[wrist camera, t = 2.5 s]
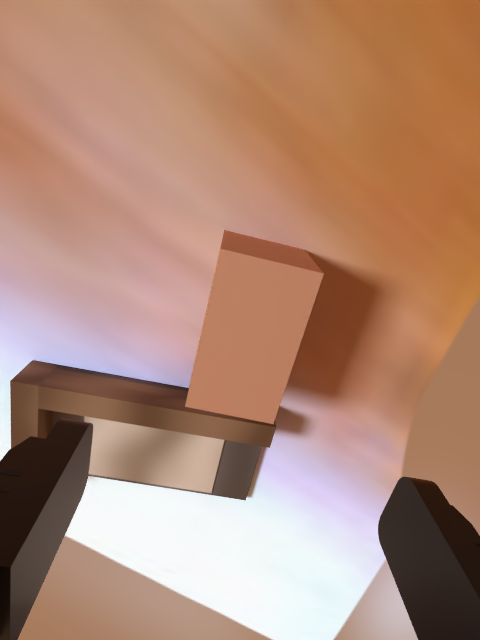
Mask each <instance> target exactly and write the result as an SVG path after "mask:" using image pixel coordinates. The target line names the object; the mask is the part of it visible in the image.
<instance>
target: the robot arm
mask: <svg viewBox="0 0 480 640" xmlns="http://www.w3.org/2000/svg"><path fill="white" fill-rule="evenodd" d="M92 437H93V424H92V423H88V422H82V421H76V420H70V419H64V418H61V419H59V420H58V421H57V423H56V424H55V425H54V427H53V428H52V430H51V431H50V433H49V434H48V436H47V437H46V439H44V438H38V437H32V436H30V437H29V438H27V439H26V440H24V441H23V442H21V443H20V444H18V445H16V446H15V447H13V448H12V449H10V450H9V451H8V452H7V454H6V455H5V456H4V457H3V459H2V460H1V461H0V640H17V639H18V637H19V635H20V633H21V630H22V628H23V626H24V624H25V621H26V619H27V617H28V615H29V613H30V610H31V608H32V606H33V604H34V601H35V600H36V597H37V595H38V593H39V591H40V588H41V586H42V584H43V582H44V579H45V577H46V575H47V573H48V570H49V569H50V566H51V564H52V562H53V560H54V557H55V555H56V553H57V551H58V549H59V546H60V544H61V542H62V539H63V538H64V535H65V533H66V531H67V529H68V527H69V524H70V522H71V520H72V518H73V515H74V513H75V511H76V509H77V507H78V504H79V502H80V500H81V498H82V495H83V492H84V489H85V486H86V483H87V479H88V474H89V466H90V456H91V447H92ZM378 535H379V540H380V544H381V547H382V549H383V552H384V554H385V557H386V559H387V562H388V564H389V567H390V569H391V572H392V574H393V577H394V579H395V582H396V584H397V587H398V589H399V592H400V595H401V597H402V600H403V602H404V605H405V607H406V610H407V612H408V615H409V617H410V620H411V622H412V625H413V627H414V630H415V632H416V635H417V638H418V640H480V536H479V535H478V533H477V531H476V530H475V528H474V527H473V525H472V524H471V523H470V522H469V521H468V520H467V519H466V518H465V517H464V516H463V515H462V514H461V513H460V512H459V511H458V510H457V509H456V508H455V507H454V506H452V505H450V504H449V503H448V501H447V499H446V498H445V496H444V495H443V493H442V492H441V490H440V489H439V487H438V486H437V485H436V484H435V483H434V482H432V481H428V480H422V479H416V478H410V477H402V478H400V479H399V480H398V482H397V484H396V486H395V488H394V490H393V492H392V494H391V496H390V498H389V500H388V502H387V504H386V506H385V508H384V510H383V512H382V515H381V517H380V520H379V525H378Z"/></svg>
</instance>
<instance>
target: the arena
mask: <svg viewBox="0 0 480 640" xmlns="http://www.w3.org/2000/svg"><path fill="white" fill-rule="evenodd" d="M10 385H11V449H12V448H13V447H15V446H16V445H18V444H20V443H21V442H23V441H24V440H26V439H27V438H29V437H30V436H32V437H38V438H44V439H46V437H47V436H48V434H49V433H50V431H51V430H52V428H53V427H54V425H55V424H56V423H57V421H58V420H59V419H61V418H64V419H70V420H76V421H82V422H88V423H92V424H93V437H92V447H91V456H90V466H89V474H88V476H94V477H100V478H107V479H113V480H119V481H126V482H132V483H139V484H145V485H151V486H158V487H164V488H171V489H177V490H183V491H190V492H196V493H203V494H209V495H215V496H222V497H228V498H235V499H241V500H246V497H247V493H248V490H249V487H250V483H251V480H252V476H253V473H254V470H255V466H256V463H257V459H258V456H259V453H260V449H261V446H263V447H269V448H270V445H271V442H272V439H273V435H274V432H275V429H276V425H275V421H274V424H270V423H265V422H260V421H255V420H250V419H245V418H240V417H235V416H230V415H224V414H219V413H214V412H209V411H204V410H199V409H194V408H189V407H185V404H186V400H187V395H188V390H189V388H183V387H178V386H172V385H167V384H161V383H156V382H150V381H144V380H139V379H133V378H128V377H122V376H117V375H111V374H105V373H100V372H94V371H89V370H83V369H78V368H72V367H66V366H61V365H55V364H50V363H44V362H39V361H33V360H32V361H31V362H30V363H29V364H28V365H27V366H26V367H25V368H24V369H23V370H22V371H21V372H20V373H19V374H17V375H16V376H15V377H14V378H13V379H12V380H11V381H10Z"/></svg>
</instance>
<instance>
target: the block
mask: <svg viewBox="0 0 480 640" xmlns="http://www.w3.org/2000/svg"><path fill="white" fill-rule="evenodd" d="M323 275H324V273H323V272H322V271H321V269H320V268H319V267H318V266H317V264H316V263H315V262H314V261H313V259H312V258H311V257H310V256H309V254H308V253H307V252H306V251H305V250H303V249H299V248H295V247H291V246H287V245H283V244H279V243H275V242H270V241H266V240H262V239H258V238H254V237H250V236H246V235H242V234H238V233H234V232H230V231H226V230H224V234H223V239H222V243H221V247H220V252H219V256H218V261H217V265H216V270H215V274H214V278H213V283H212V287H211V292H210V296H209V301H208V305H207V309H206V314H205V318H204V323H203V327H202V332H201V336H200V340H199V345H198V349H197V354H196V358H195V363H194V367H193V372H192V377H191V381H190V386H189V390H188V395H187V400H186V404H185V407H189V408H194V409H199V410H204V411H209V412H214V413H219V414H224V415H230V416H235V417H240V418H245V419H250V420H255V421H260V422H265V423H270V424H274V421H275V418H276V415H277V412H278V409H279V406H280V403H281V400H282V397H283V394H284V391H285V388H286V385H287V382H288V379H289V376H290V373H291V370H292V367H293V364H294V361H295V358H296V355H297V352H298V349H299V346H300V343H301V340H302V337H303V335H304V332H305V329H306V326H307V323H308V320H309V317H310V314H311V311H312V308H313V305H314V302H315V299H316V296H317V293H318V290H319V287H320V284H321V281H322V278H323Z"/></svg>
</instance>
